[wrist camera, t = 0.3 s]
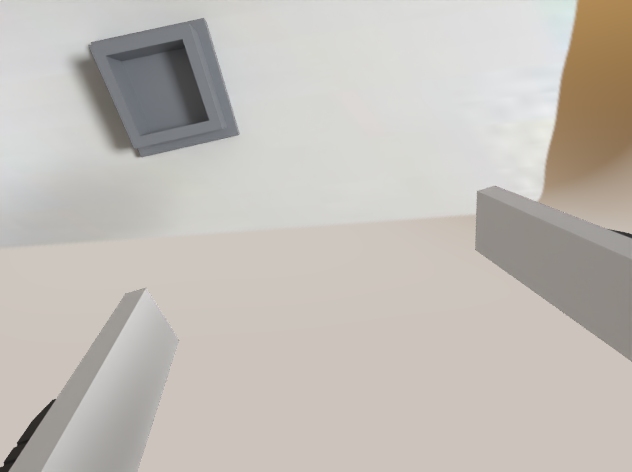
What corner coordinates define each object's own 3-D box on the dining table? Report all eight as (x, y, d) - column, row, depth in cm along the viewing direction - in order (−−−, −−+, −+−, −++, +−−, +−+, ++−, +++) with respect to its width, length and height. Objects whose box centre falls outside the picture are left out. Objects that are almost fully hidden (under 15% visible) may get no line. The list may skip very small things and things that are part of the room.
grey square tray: (96, 44, 29) (70, 34, 25) (206, 21, 30) (196, 7, 26) (144, 156, 33) (128, 161, 30) (239, 134, 34) (235, 136, 30)
